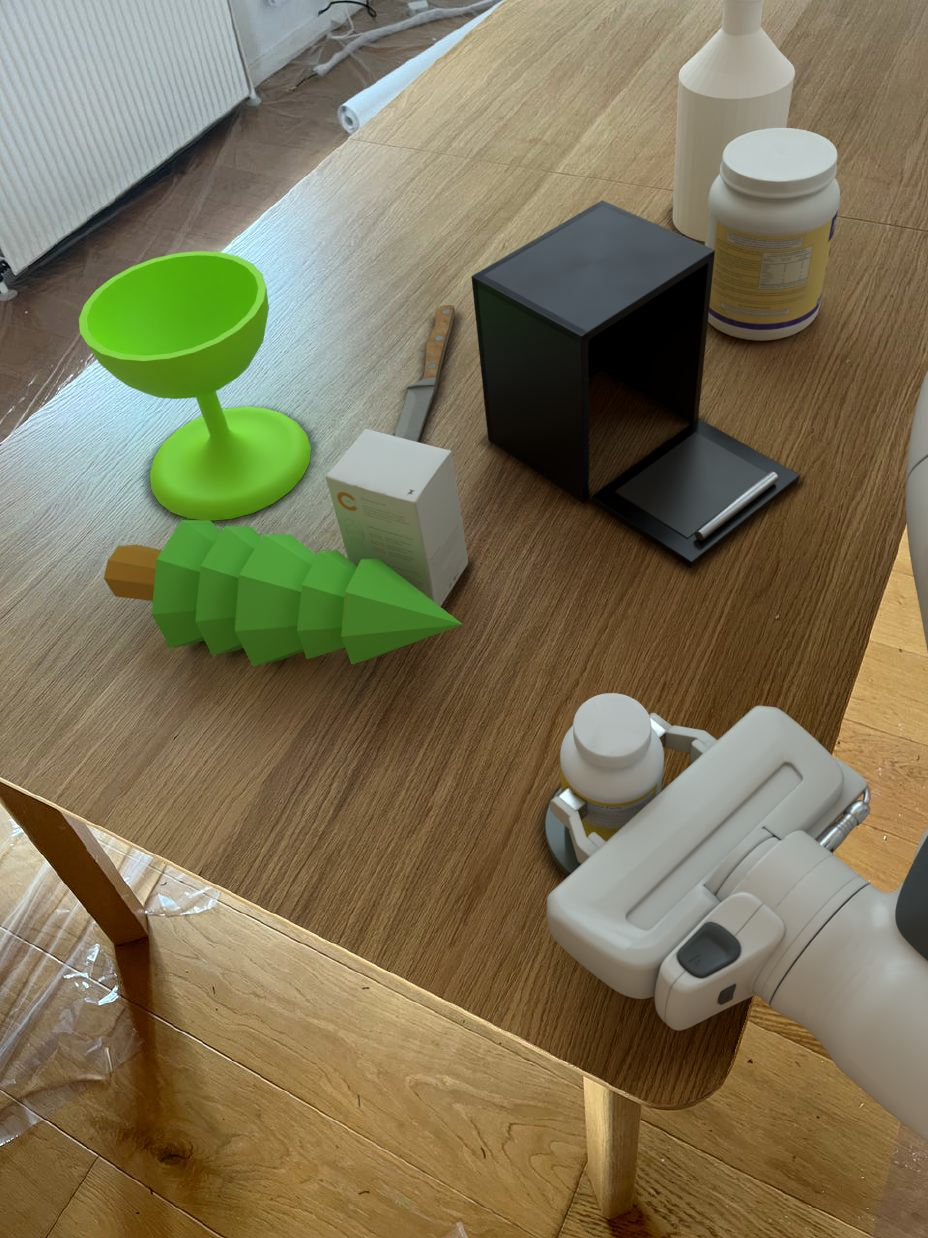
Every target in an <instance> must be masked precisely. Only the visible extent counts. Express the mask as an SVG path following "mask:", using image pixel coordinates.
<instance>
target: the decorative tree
mask: <svg viewBox="0 0 928 1238" xmlns="http://www.w3.org/2000/svg"><path fill="white" fill-rule="evenodd" d="M103 579H104V581H105V582H106V584H107V586H108V587H109V589H110V590H111V592H112V594H113V595H114V597H116V598H124V599H133V600H134V599H135V600H142V601H151V602H152V607H151V616H152V618H153V620H154V623H156V625H157V628H158V629H159V631H160V633H161V634H162V637H163V639H164V640H165V642H166V644H167V646H168V648H169V649H175V648H179V647H185V646H189V645H194V644H200V643H203V642H205V644H206V646H207V648H208V650H209V652H210V654H211V657H214V656H218V655H224V654H227V653H232V652H236V651H240V650H242V649H243V650H244V652H245V653H246V656H247V658H248V660H249V662H250V663H251V665H252V667H257V666H260V665H266V664H269V663H270V664H271V663H276V662H279V661H283V660H285V659H289V658H290V657H294V656H296V655H298V654H301V653H303V652H304V655H305V657H306V659H307V660H309V659H312V658H317V657H319V656H322V655H327V654H329V653H332V652H335V651H338V650H342V649H344V648H345V651H346V654H347V656H348V658H349V661H350V664H351V665H355V664H358V663H362V662H365V661H370V660H372V659H375V658H378V657H380V656H384V655H385V654H387V653H390V652H393V651H396V650H398V649H401V648H404V647H407V646H410V645H412V644H414V643H418V642H419V641H422V640H425V639H427V638H431V637H433V636H436V635H439V634H441V633H444V632H447V631H449V630H451V629H454V628H457V627H459V626H460V627H461V626H463V622H461V621H459V620H458V619H457V618H455V617H454V616H453V615H451V614H450V613H449V612H448V611H446V610H445V609H444V608H443V607H442V606H441V607H440V606H439V605H437V604H436V603H435V602H433V601H432V600H431V599H430V598H428V597H427V596H426V595H424V594H423V593H422V592H421V591H419V590H418V589H417V588H415V587H414V586H413V585H412V584H410V583H409V582H408V581H407V580H405V579H404V578H403V577H401V576H400V575H399V574H398V573H396V572H395V571H394V570H392V569H391V568H390V567H389V566H387V565H386V564H385V563H383V562H382V561H381V560H380V559H361V560H360V562H359V564H358V566H356V565H355V564H353V563H352V562H351V561H350V560H348V557H346V556H345V555H344V554H342V553H341V552H340V551H339V550H337V549H336V550H335V549H334V550H319V551H318V553H317V554H316V553H315V552H313V551H312V550H311V549H310V548H308V547H307V546H306V545H305V544H304V543H302V541H300V540H299V539H298V538H296V537H295V536H294V535H292V534H286V533H285V534H283V533H281V534H278V533H277V534H274V533H271V534H269V533H268V534H267V533H266V534H265V533H264V534H262V536H261V535H260V534H259V533H258V532H257V530H255V529H254V528H253V526H251V525H250V526H249V525H247V526H246V525H245V526H244V525H243V526H242V525H224V527H223V528H222V530H221V529H220V528H219V527H218V526H217V525H216V524H214V523H213V521H210V520H197V519H181V520H180V522H179V523H178V525H177V526H176V528H175V530H173V533H172V534H171V536H170V537H169V539H168V540H167V542H166V543H165V545H164V546H163V548H162V549H158V548H153V547H150V546H145V545H140V544H126V545H118V546H117V547H116V548H115V549H114V551H113V552H112V554H111V555H110V556H109V557H108V559H107V562H106V567H105V571H104V576H103Z"/></svg>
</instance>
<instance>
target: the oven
mask: <svg viewBox="0 0 928 1238" xmlns="http://www.w3.org/2000/svg"><path fill="white" fill-rule="evenodd" d="M714 257H715V250H714V249H711V248H709V247H707V246H705V244H702V243H700V242H698V241H696V240H694V239H692V238H690V237H687V236H684V235H682V234H681V233H680V234H679V233H677V232H675V231H673V230H670V229H668V228H666V227H664V226H661V225H659V224H657V223H656V222H653V221H650V220H648V219H646V218H644V217H641V216H639V215H637V214H635V213H632V212H630V211H627V210H626V209H623V208H621V207H618V206H616V205H614V204H611V203H609V202H608V201H605V200H603V199H602V200H600V201H598V202H596V203H595V204H593V205H592V206H589V207H588V208H586V209H584V210H583V211H581V212H579V213H577V214H576V215H574V216H573V217H572V216H571V218H569V219H567V220H565V221H564V222H562V223H560V224H559V225H557V226H555V227H553V228H552V229H550V230H548V231H547V232H545V233H543V234H541V235H539V236H538V237H536V238H535V239H532V240H531V241H529V242H527V243H525V244H524V245H523V246H520V247H519V248H518V249H517V248H516V249H515V250H513V251H512V252H510V253H509V254H507V255H505V256H504V257H502V258H500V259H498V260H497V261H495V262H493V263H491V264H490V265H488V266H487V267H485V268H483V269H481V270H480V271H478V272H476V273H474V274H472V275H471V286H472V297H473V306H474V307H473V308H474V316H475V325H476V335H477V344H478V354H479V363H480V364H479V365H480V373H481V374H480V375H481V383H482V393H483V405H484V412H485V422H486V431H487V432H486V433H487V440H488V441H489V442H491V443H492V444H494V445H495V446H497V448H499V449H501V450H502V451H504V452H505V453H507V454H508V455H510V456H511V457H513V458H514V459H516V460H517V461H519V462H520V463H521V464H523V465H525V466H527V468H530V469H531V470H532V471H534V472H536V473H537V474H538V475H539V476H541V477H543V479H546V480H547V481H549V482H550V483H553V485H554V486H556V487H558V488H559V489H561V490H562V491H564V492H565V493H567V494H568V495H570V496H571V497H573V498H574V499H576V500H577V501H579V502H580V503H582V504H585V503H586V502H587V501H589V500H591V504H593V505H595V506H596V507H598V508H599V509H601V510H602V511H604V512H605V513H607V514H608V515H610V516H611V517H613V518H614V519H616V520H617V521H619V522H620V523H622V524H623V525H625V526H626V527H628V528H629V529H631V530H633V531H634V532H635V533H637V534H639V535H640V536H642V537H643V538H645V539H646V540H648V541H649V542H651V543H652V544H654V545H655V546H656V547H659V549H660V550H663V551H664V552H666V553H667V554H669V555H671V557H673V558H675V559H676V560H678V561H679V562H680V563H682V564H684V565H685V566H687V567H689V568H690V569H692V568H693V567H694V566H696V565H697V564H699V562H700V561H702V560H703V559H704V558H706V557H707V556H708V555H709V554H711V553H712V552H713V551H714V550H715V549H717V548H718V547H720V545H722V544H723V543H724V542H726V541H727V540H728V539H729V538H731V537H732V536H733V535H734V534H736V532H738V531H739V530H740V529H742V528H743V527H744V526H745V525H747V524H748V523H749V522H750V521H752V520H753V519H754V518H755V517H757V515H759V514H760V513H761V512H763V511H764V510H765V509H766V508H768V507H769V506H770V505H772V504H773V503H774V502H775V501H776V500H778V499H779V498H780V497H781V496H783V495H784V494H785V493H787V492H788V491H789V490H790V489H791V488H793V487H794V486H795V485H796V484H798V482H800V481H799V480H800V477H801V475H800V474H798V473H797V472H795V471H793V470H792V469H790V468H788V467H787V466H784V465H783V464H781V463H779V462H777V461H775V460H774V459H772V458H770V457H768V456H767V455H765V454H763V453H761V452H760V451H758V450H756V449H754V448H753V447H751V446H749V445H748V444H745V443H743V442H741V441H740V440H738V439H737V438H734V437H733V436H731V435H729V434H727V433H726V432H724V431H722V430H720V429H718V428H716V427H715V426H713V425H711V424H709V423H708V422H706V421H704V420H702V419H700V418H699V416H700V414H699V413H700V405H701V396H702V385H703V375H704V367H705V365H704V364H705V356H706V355H705V354H706V346H707V345H706V344H707V337H708V325H709V322H708V317H709V307H710V297H711V287H712V277H713V267H714ZM600 373H603V374H605V375H606V376H608V377H610V378H612V379H614V380H615V381H617V382H619V383H621V384H622V385H624V386H626V387H628V388H629V389H631V390H633V391H635V392H636V393H639V394H640V395H642V396H643V397H645V398H647V399H649V400H651V401H652V402H654V403H656V404H658V405H659V406H661V407H663V408H665V409H667V410H668V411H670V412H672V413H673V414H676V415H677V416H679V417H681V418H682V419H685V420H686V421H688V422H690V423H689V424H688V425H687V426H685V427H684V428H682V429H681V430H680V431H679V432H677V433H676V434H674V435H673V436H672V437H670V438H669V439H668V440H666V441H665V442H664V443H662V444H661V445H659V446H658V447H656V448H655V449H654V450H652V451H651V452H650V453H648V454H647V455H645V456H644V457H643V458H642V459H640V460H639V461H637V462H636V463H635V464H633V465H632V466H631V467H629V468H628V469H626V470H625V471H624V472H622V473H621V474H619V475H618V476H617V477H616V478H614V479H613V480H611V481H610V482H608V483H606V485H605V486H603V487H602V488H600V489H598V491H596V492H595V493H594V494H592V495H591V499H590V385H589V384H590V380H591V379H593V378H594V377H595V376H597V375H599V374H600Z"/></svg>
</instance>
